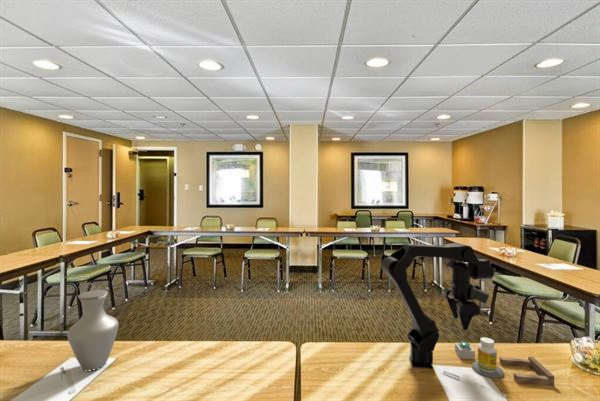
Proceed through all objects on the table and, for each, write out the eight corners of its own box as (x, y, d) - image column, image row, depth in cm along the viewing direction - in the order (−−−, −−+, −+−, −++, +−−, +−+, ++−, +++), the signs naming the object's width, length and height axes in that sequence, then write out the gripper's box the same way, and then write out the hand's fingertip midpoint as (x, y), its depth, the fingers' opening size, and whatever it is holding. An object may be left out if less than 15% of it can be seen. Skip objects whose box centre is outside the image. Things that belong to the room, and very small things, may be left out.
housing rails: (516, 382, 95) (516, 373, 95) (499, 362, 106) (499, 354, 106) (554, 386, 93) (554, 376, 93) (533, 365, 104) (533, 357, 104)
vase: (128, 355, 111) (127, 287, 110) (98, 380, 96) (96, 302, 96) (91, 353, 112) (90, 286, 111) (56, 377, 98) (54, 300, 97)
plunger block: (459, 358, 109) (459, 349, 109) (455, 350, 114) (455, 342, 114) (474, 359, 108) (475, 351, 108) (469, 352, 113) (469, 344, 113)
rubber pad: (478, 377, 98) (478, 375, 98) (467, 361, 107) (467, 360, 107) (509, 380, 96) (509, 378, 96) (496, 364, 105) (496, 362, 105)
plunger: (461, 355, 110) (461, 345, 110) (458, 350, 113) (458, 341, 113) (471, 356, 109) (471, 346, 109) (467, 351, 112) (467, 342, 112)
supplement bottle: (482, 362, 105) (483, 334, 105) (499, 369, 101) (500, 341, 101) (474, 367, 102) (474, 339, 102) (491, 375, 98) (492, 345, 98)
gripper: (499, 289, 96) (498, 338, 97) (475, 273, 115) (474, 314, 115) (461, 287, 98) (460, 335, 99) (443, 272, 116) (443, 312, 117)
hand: (460, 323), depth 107 cm, fingers open, 9 cm apart
